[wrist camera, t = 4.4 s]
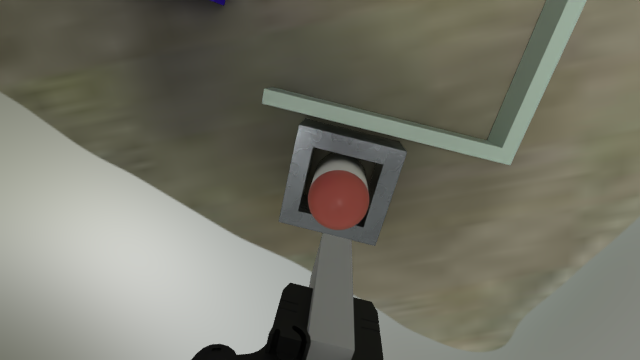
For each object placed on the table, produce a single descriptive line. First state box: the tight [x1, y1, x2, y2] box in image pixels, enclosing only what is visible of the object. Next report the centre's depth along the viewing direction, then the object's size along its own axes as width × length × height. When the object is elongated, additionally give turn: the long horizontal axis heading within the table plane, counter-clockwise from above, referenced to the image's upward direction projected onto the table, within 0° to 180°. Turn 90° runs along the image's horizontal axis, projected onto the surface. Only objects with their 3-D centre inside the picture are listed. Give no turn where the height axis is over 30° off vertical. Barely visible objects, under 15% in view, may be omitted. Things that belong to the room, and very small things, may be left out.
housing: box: [279, 118, 407, 246], centre depth 29 cm, size 9×9×4 cm
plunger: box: [308, 153, 369, 230], centre depth 26 cm, size 5×5×8 cm
